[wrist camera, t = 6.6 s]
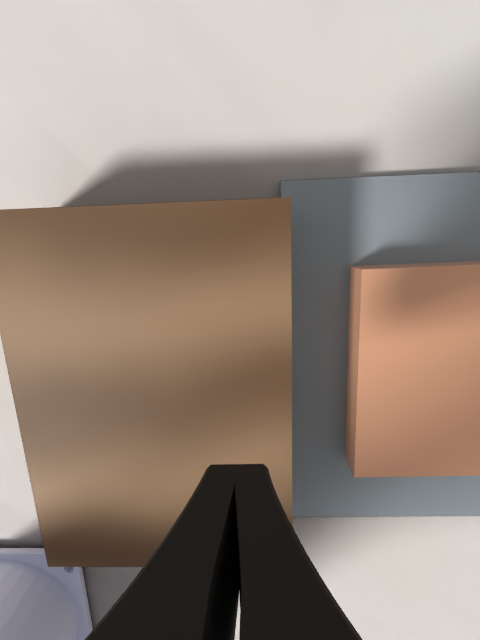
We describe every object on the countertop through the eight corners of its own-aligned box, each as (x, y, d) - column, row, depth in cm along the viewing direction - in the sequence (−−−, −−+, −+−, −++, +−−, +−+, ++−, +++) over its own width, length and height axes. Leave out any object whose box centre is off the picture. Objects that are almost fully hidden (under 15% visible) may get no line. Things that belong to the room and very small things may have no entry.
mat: (523, 509, 18) (529, 515, 17) (283, 511, 18) (284, 517, 18) (582, 168, 14) (592, 166, 14) (280, 182, 14) (281, 180, 14)
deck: (283, 494, 18) (292, 566, 14) (91, 496, 18) (47, 566, 14) (280, 207, 15) (290, 196, 11) (47, 217, 15) (-25, 210, 11)
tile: (354, 477, 15) (344, 454, 17) (496, 475, 15) (473, 452, 16) (361, 269, 13) (350, 265, 15) (526, 262, 13) (497, 259, 14)
